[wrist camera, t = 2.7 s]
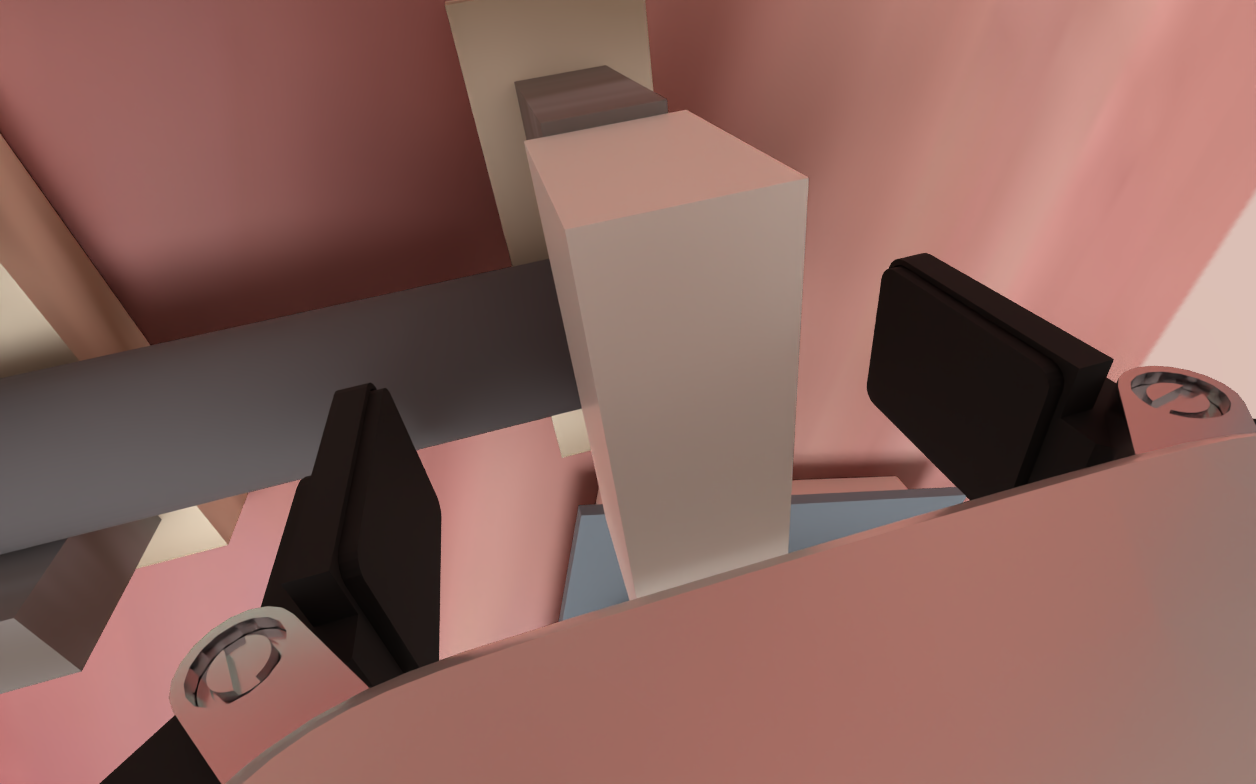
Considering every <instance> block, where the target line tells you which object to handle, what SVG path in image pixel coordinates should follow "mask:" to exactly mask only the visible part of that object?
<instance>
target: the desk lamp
mask: <svg viewBox="0 0 1256 784" xmlns="http://www.w3.org/2000/svg"><path fill="white" fill-rule="evenodd" d="M965 498H966V496H965V495H964V494H963V493H962V492H961V491H960V490H959V489H958V488H957V487H947V488H927V489H907V487H906V486H905V485H904V484H903V483H902V482H901V481H900V480H899V479H898V477H897V476H887V477H862V478H837V479H812V480H792V492H791V510H790V528H789V546H788V553H791V552H795V551H798V550H802V549H805V548H809V547H812V546H815V545H819V544H822V543H826V542H829V541H832V540H836V539H839V538H843V537H846V536H850V535H853V534H856V533H860V532H863V531H867V530H870V529H874V528H877V527H880V526H884V525H887V524H891V523H894V522H898V521H901V520H904V519H908V518H911V517H915V516H918V515H922V514H925V513H929V512H932V511H936V510H939V509H943V508H946V507H950V506H953V505H957V504H960V503H963V501H964V500H965ZM626 601H630V600H629V597H628V593H627V590H626V587H625V583H624V580H623V576H622V573H621V569H620V566H619V562H618V559H617V556H616V552H615V549H614V545H613V542H612V538H611V535H610V532H609V528H608V525H607V521H606V517H605V513H604V508H603V503H602V499H601V494H600V490H599V489H598V494H597V500H596V504H594V505H579V507H578V513H577V518H576V524H575V530H574V536H573V541H572V547H571V553H570V559H569V565H568V570H567V576H566V582H565V588H564V593H563V599H562V605H561V611H560V617H559V622H560V621H563V620H567V619H570V618H573V617H576V616H580V615H583V614H586V613H590V612H593V611H596V610H600V609H603V608H606V607H610V606H613V605H616V604H620V603H623V602H626Z"/></svg>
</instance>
